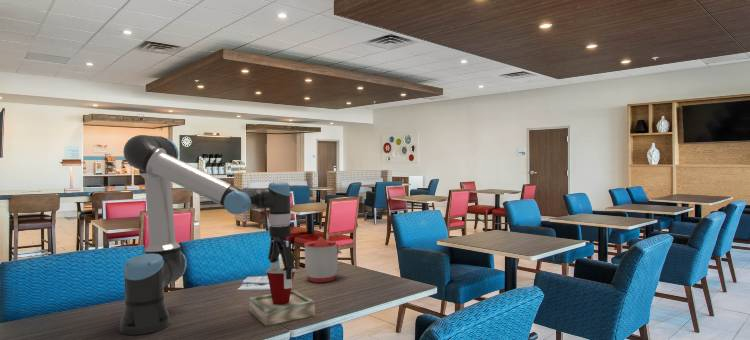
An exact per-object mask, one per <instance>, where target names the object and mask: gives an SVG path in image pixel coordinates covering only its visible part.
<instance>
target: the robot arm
mask: <svg viewBox="0 0 750 340" xmlns="http://www.w3.org/2000/svg"><path fill="white" fill-rule="evenodd" d="M179 155H180V153H179V149H178V146H177V145H176V144H175V143H174V142H173V140H171V139H169V138H167V137H164V136H161V135H160V136H157V135H146V134H140V135H139V134H137V135H135V136H133V137H131V138H130V139H128V140H127V141H126V143H125V145H124V146H123V157H124V159H125V162H126V163H127V164H128V165H130V166H131V167H133V168H134V169H136V170H139V171H138V172H139V176H141V177H142V178H143V179H144V188H145V189H144V190H145V200H146V215H147V226H148V227H147V228H148V239H149V245H148V246H147V247H146V249H145V254H140V255H136V256H132V257H131V258H129V259H128V260H127V261H126V262H125V263H124V270H123V276H124V277H123V278H124V281H123V282H124V303H125V304H124V310H123V313H122V316H121V319H120V321H119V332H120V333H121V334H123V335H129V336H130V335H131V336H133V335H134V336H137V335H145V334H151V333H154V332H155V333H156V332H158V331H161V330H164V329H165V328H167V327H168V326H170V324H171V315H170V313H169V311H168V308H167V305H166V303H165V297H164V296H165V292H164V289H165V287H166V286H169V285H170V284H172V283H175V282H177V281H178V280H179V279H180V278H181V277H182V276H183V275H184V274H185V272H186V270H187V267H188V263H187V262H188V261H187V257H186V255H185V254H184V253H183V252H182V250H181V248H182V247H181V245H180V244H179V243H178V242H177V241H176V230H175V229H176V228H175V218H174V205H173V203H174V202H173V193H172V192H173V191H172V183H173V184H175V185H178V186H180V187H183V188H185V189H187V190H189V191H190V192H193V193H194V194H196V195H199V196H202V197H203V198H206V199H208V200H210V201H211V202H214V203H216V204H217V205H220V206H221V207H224V209H226V211H227V212H228V213H229V214H232V215H242V214H245V213H247V212H250V211H252V210H268V225H269V237H270V245H269V249H268V250H269V251H268V256H267V259H268V260H269V263H270V269H277V268H279V256H281V260H282V261H281V262H282V264H283V268H284V269H283V271H284V289H288V288H291V289H292V288H293V282H292V269H296V268H295V263H294V262H295V261H294V255H293V251H292V245H291V242H292V241H291V240H288V239H287V237H290V236H291V234H292V233H291V232H292V226H291V225H290V224H291V218H292V215H291V188H290V184H289V183H288V182H286V181H285V182H284V181H281V182H279V181H278V182H269V183H268V187H264V188H263V187H262V188H259V187H258V188H256V187H254V188H253V187H252V188H251V187H249V188H248V187H243V188H239V187H237V186H234V185H233V184H230V183H229V182H227V181H224V180H222V179H220V178H218V177H216V176H214V175H212V174H209V173H208V172H206V171H203V170H201V169H199V168H198V167H195V166H193V165H190V164H189V163H188V162H185V161H183V160H181V159H179V157H180V156H179Z"/></svg>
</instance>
